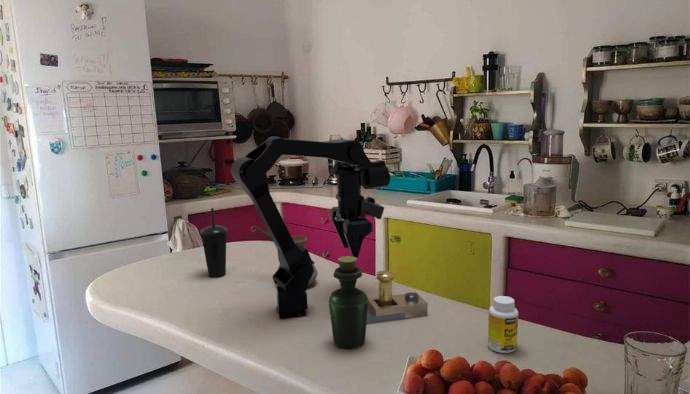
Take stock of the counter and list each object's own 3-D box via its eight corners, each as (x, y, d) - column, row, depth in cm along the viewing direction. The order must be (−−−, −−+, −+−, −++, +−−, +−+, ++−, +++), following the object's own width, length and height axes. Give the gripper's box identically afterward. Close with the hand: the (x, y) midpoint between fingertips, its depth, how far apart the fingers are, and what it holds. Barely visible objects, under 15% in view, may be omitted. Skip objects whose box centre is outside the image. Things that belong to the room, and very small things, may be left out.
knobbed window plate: (352, 325, 112) (352, 308, 111) (344, 313, 119) (344, 297, 118) (427, 315, 116) (427, 299, 116) (415, 303, 123) (415, 288, 122)
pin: (389, 319, 115) (389, 277, 113) (374, 315, 117) (373, 274, 115) (397, 312, 118) (396, 272, 116) (381, 309, 120) (381, 269, 118)
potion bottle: (367, 332, 109) (366, 252, 105) (370, 350, 101) (369, 264, 97) (330, 333, 108) (327, 253, 105) (329, 352, 100) (326, 266, 97)
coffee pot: (326, 281, 140) (324, 228, 137) (301, 294, 131) (298, 239, 128) (268, 268, 152) (265, 220, 149) (241, 280, 142) (237, 229, 139)
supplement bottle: (504, 357, 97) (506, 307, 95) (481, 346, 101) (483, 298, 99) (522, 349, 100) (524, 300, 98) (500, 338, 104) (501, 291, 102)
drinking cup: (236, 273, 148) (231, 207, 145) (216, 281, 142) (211, 212, 138) (217, 269, 152) (212, 204, 149) (198, 276, 146) (192, 209, 142)
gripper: (393, 195, 115) (394, 260, 118) (369, 183, 133) (370, 240, 136) (346, 199, 113) (348, 265, 116) (328, 186, 131) (330, 243, 134)
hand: (350, 252), depth 125 cm, fingers open, 9 cm apart
